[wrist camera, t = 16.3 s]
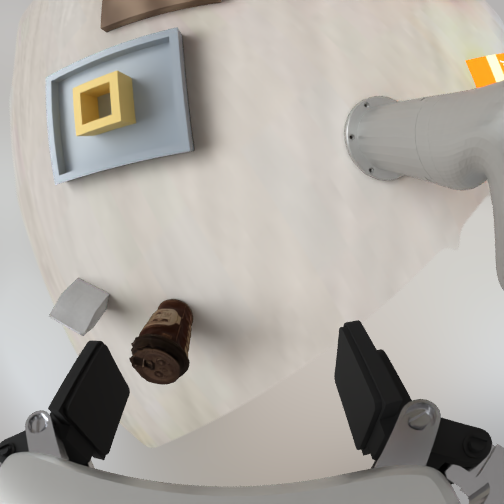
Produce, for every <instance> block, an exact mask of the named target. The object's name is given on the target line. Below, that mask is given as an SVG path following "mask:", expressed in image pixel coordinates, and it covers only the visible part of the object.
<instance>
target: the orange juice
mask: <svg viewBox="0 0 504 504" xmlns="http://www.w3.org/2000/svg"><path fill="white" fill-rule="evenodd" d="M466 63H467V65H468V68H469V70H470V72H471V75H472V77H473V79H474V82H475V84H476V87H477V88H479V87H483V86H486V85H489V84H493V83H496V82H499V81H502V80H504V53H502V54H495V55H489V56H485V57H480V58H475V59H471V60H466Z"/></svg>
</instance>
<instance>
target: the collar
mask: <svg viewBox="0 0 504 504" xmlns="http://www.w3.org/2000/svg"><path fill="white" fill-rule="evenodd" d="M108 93H110V99H111V111H112V115H109V116H106V117H103V118H100V119H99V111H98V98H97V97H99V96H102V95H105V94H108ZM73 106H74V119H75V130H76V136H95V135H98V134H101V133H104V132H108V131H111V130H114V129H117V128H121V127H124V126H128V125H131V124H135V123H136V118H135V109H134V98H133V86H132V78H131V77H129V76H127V75H125V74H123V73H121V72H119V71H114V72H111V73H109V74H106V75H103V76H101V77H98V78H96V79H93V80H91V81H88V82H86V83H83V84H81V85H79V86H77V87H74V88H73Z"/></svg>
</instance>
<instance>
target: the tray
mask: <svg viewBox="0 0 504 504" xmlns="http://www.w3.org/2000/svg"><path fill="white" fill-rule="evenodd" d="M114 71H119V72H121V73H123V74H125V75H127V76H129V77H131V78H132V86H133V98H134V109H135V118H136V123H135V124H131V125H128V126H124V127H121V128H117V129H114V130H111V131H108V132H104V133H101V134H98V135H95V136H76V130H75V119H74V106H73V88H74V87H77V86H79V85H81V84H83V83H86V82H88V81H91V80H93V79H96V78H98V77H101V76H103V75H106V74H109V73H111V72H114ZM97 98H98V111H99V119H100V118H103V117H106V116H109V115H112V111H111V99H110V93H108V94H105V95H102V96H99V97H97ZM46 113H47V128H48V139H49V148H50V156H51V163H52V169H53V176H54V181H55V185H57V184H60V183H63V182H66V181H69V180H73V179H76V178H79V177H82V176H86V175H89V174H93V173H96V172H100V171H103V170H107V169H111V168H115V167H119V166H123V165H127V164H131V163H135V162H140V161H144V160H149V159H153V158H158V157H163V156H168V155H173V154H179V153H184V152H190V151H194V145H193V137H192V129H191V121H190V112H189V104H188V94H187V85H186V75H185V64H184V53H183V41H182V34H181V32H180V31H179V29H178V28H173V29H168V30H164V31H161V32H157V33H153V34H150V35H146V36H143V37H139V38H136V39H133V40H130V41H127V42H124V43H121V44H118V45H116V46H113V47H110V48H108V49H105V50H103V51H100V52H98V53H95V54H93V55H90V56H88V57H86V58H84V59H81V60H79V61H77V62H75V63H73V64H71V65H69V66H67V67H65V68H63V69H61V70H59V71H57V72H55V73H53V74H51V75H49V76H48V77H46Z"/></svg>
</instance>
